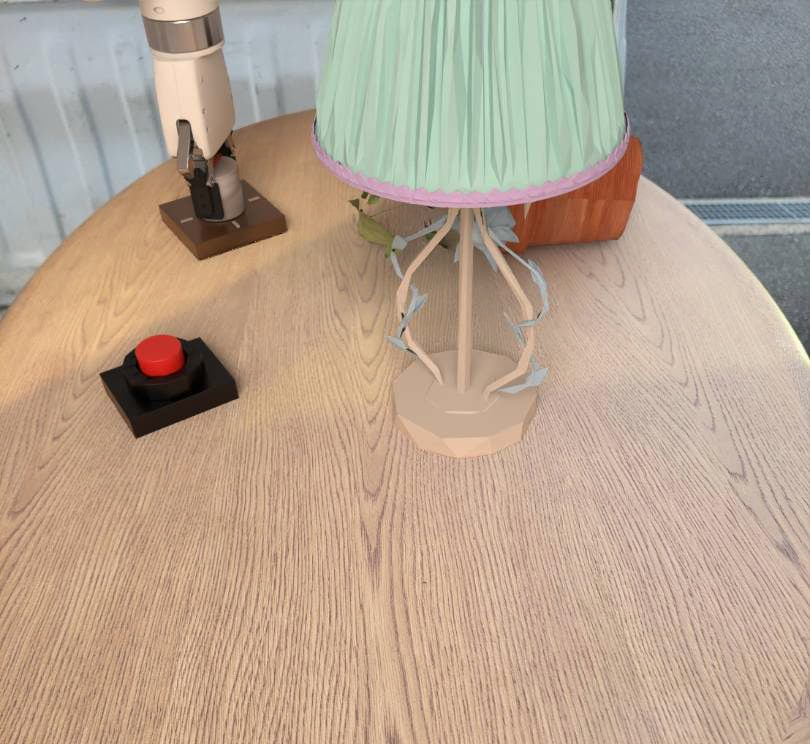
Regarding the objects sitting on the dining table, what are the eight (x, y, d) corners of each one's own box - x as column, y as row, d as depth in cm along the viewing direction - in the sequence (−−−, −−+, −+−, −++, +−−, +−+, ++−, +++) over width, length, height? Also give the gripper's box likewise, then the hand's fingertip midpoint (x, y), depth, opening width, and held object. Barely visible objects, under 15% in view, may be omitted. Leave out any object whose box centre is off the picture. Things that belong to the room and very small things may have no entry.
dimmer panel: (199, 261, 97) (194, 243, 95) (162, 221, 103) (157, 203, 101) (287, 231, 100) (284, 214, 99) (246, 194, 107) (243, 177, 105)
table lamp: (619, 375, 81) (721, -179, 51) (527, 529, 68) (593, -86, 38) (412, 317, 88) (397, -196, 58) (295, 447, 75) (199, -123, 46)
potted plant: (602, 222, 103) (305, 203, 102) (636, 89, 91) (299, 66, 90) (618, 303, 93) (289, 283, 92) (658, 167, 81) (281, 142, 80)
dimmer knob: (236, 223, 98) (228, 177, 94) (189, 220, 99) (178, 174, 95) (251, 199, 101) (243, 153, 97) (205, 196, 102) (195, 151, 98)
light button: (149, 383, 76) (144, 366, 75) (133, 360, 79) (128, 344, 77) (192, 367, 78) (187, 350, 76) (174, 345, 80) (170, 329, 79)
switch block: (136, 439, 77) (123, 404, 74) (105, 392, 81) (92, 357, 78) (239, 398, 80) (231, 363, 77) (204, 355, 85) (195, 320, 82)
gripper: (177, -1, 92) (211, 168, 106) (115, 61, 81) (162, 240, 94) (245, 1, 91) (271, 170, 105) (192, 63, 80) (228, 244, 93)
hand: (219, 202), depth 99 cm, fingers closed on dimmer knob, 5 cm apart
